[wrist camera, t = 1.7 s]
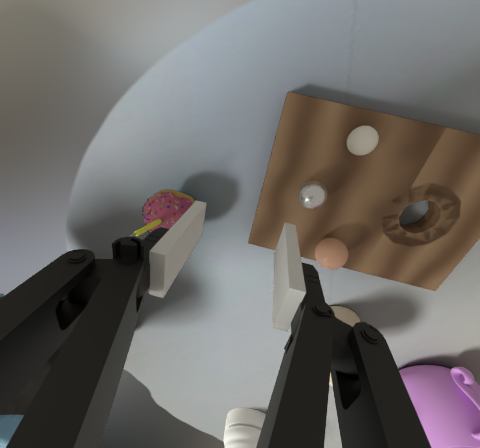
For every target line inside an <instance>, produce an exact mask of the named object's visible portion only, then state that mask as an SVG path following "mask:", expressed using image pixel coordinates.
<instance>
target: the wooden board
mask: <svg viewBox="0 0 480 448" xmlns="http://www.w3.org/2000/svg"><path fill="white" fill-rule="evenodd" d="M360 126H371V127H373V128H374V129H375V130H376V131H377V133H378V136H379V140H378V144H377V146H376V147H375V149H374V150H373V151H371V152H370V153H368V154H366V155H354V154H352V153H351V152H350V151H349V150H348V147H347V138H348V136H349V134H350V133H351V132H352V131H353V130H354V129H356V128H357V127H360ZM308 181H318V182H321V183H322V184H323V185H324V186H325V187H326V189H327V192H328V197H327V200H326V202H325V204H324V205H323V206H321V207H320V208H318V209H314V210H310V209H306V208H304V207H303V206H301V204H300V203H299V201H298V198H297V194H298V190H299V188H300V187H301V186H302V185H303V184H304V183H305V182H308ZM422 200H428V201H429V207H428V211H427V213H426V214H425V216H424V217H423V218H422V219H420V220H419V221H417V222H415V223H412V224H407V225H403V224H399V217H400V215H401V213H402V212H403V210H404V209H405V208H406V207H408V206H409V205H411V204H412V203H414V202H417V201H422ZM285 223H289V224H293V225H296V232H297V238H298V244H299V250H300V257H304V258H308V259H312V260H316V258H315V254H314V252H315V247H316V245H317V244H318V243H319V242H320V241H321V240H323V239H325V238H336V239H339V240H340V241H342V242H343V243H344V244H345V245H346V247H347V249H348V259H347V262H346V263H345V264H344V265H343V266H342V267H343V268H347V269H351V270H355V271H359V272H363V273H367V274H370V275H374V276H378V277H382V278H386V279H390V280H394V281H398V282H402V283H406V284H410V285H413V286H417V287H421V288H425V289H429V290H433V291H436V290H437V288H438V287H439V286H440V285H441V284H442V282H443V281H444V280H445V279H446V278H447V277H448V275H449V274H450V273H451V272H452V271H453V269H454V268H455V267H456V266H457V265H458V263H459V262H460V261H461V260H462V259H463V257H464V256H465V255H466V254H467V253H468V252H469V250H470V249H471V248H472V247H473V246H474V244H475V243H476V242H477V241H478V240H479V238H480V135H478V134H474V133H469V132H465V131H460V130H456V129H452V128H447V127H443V126H438V125H434V124H429V123H425V122H420V121H416V120H412V119H407V118H403V117H398V116H394V115H389V114H385V113H380V112H376V111H372V110H367V109H363V108H358V107H354V106H349V105H345V104H340V103H336V102H332V101H327V100H323V99H318V98H314V97H309V96H305V95H300V94H296V93H292V92H287V95H286V99H285V103H284V107H283V111H282V115H281V118H280V122H279V126H278V130H277V134H276V138H275V141H274V145H273V149H272V153H271V157H270V161H269V164H268V168H267V172H266V176H265V180H264V183H263V187H262V191H261V195H260V199H259V203H258V206H257V210H256V214H255V218H254V222H253V226H252V229H251V233H250V237H249V242H248V243H249V244H253V245H257V246H261V247H265V248H269V249H273V250H276V247H277V244H278V241H279V238H280V236H281V233H282V230H283V227H284V224H285ZM316 261H317V260H316Z"/></svg>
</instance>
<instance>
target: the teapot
mask: <svg viewBox="0 0 480 448" xmlns="http://www.w3.org/2000/svg"><path fill="white" fill-rule="evenodd" d="M399 372H400V375H401V377H402V379H403V382H404V384H405V386H406V389H407V391H408V394H409V396H410V398H411V401H412V403H413V405H414V408H415V410H416V412H417V415H418V417H419V419H420V422H421V424H422V426H423V429H424V431H425V433H426V436H427V438H428V440H429V443H430V445H431V447H432V448H480V385H479V384H478V383H477V382H476V381H475V380H474V376H473V374H472V373H471V372H470V371H469V370H468V369H466V368H464V367H460V366H459V367H453V368H452V369H450V368H447V367H442V366H436V365H417V366H411V367H407V368H404V369H401V370H399Z"/></svg>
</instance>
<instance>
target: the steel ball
mask: <svg viewBox="0 0 480 448" xmlns="http://www.w3.org/2000/svg"><path fill="white" fill-rule="evenodd" d="M327 197H328V192H327V189H326V187H325V186H324V185H323V184H322V183H321V182H318V181H308V182H305V183H304V184H303V185H302V186H301V187H300V188H299V190H298V194H297V198H298V201H299V203H300V204H301V206H303V207H304V208H306V209H310V210H314V209H318V208H320V207H321V206H323V205H324V204H325V202H326V200H327Z"/></svg>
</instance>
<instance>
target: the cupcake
mask: <svg viewBox="0 0 480 448" xmlns="http://www.w3.org/2000/svg"><path fill="white" fill-rule="evenodd" d="M194 202H195V199H194V198H193V197H191V196H189V195H187V194H184V193H182V192H179V191H175V190H162V191H159V192H157V193H155V194H154V195H152V196H151V197H150V198H149V199H147V201H146V203H145V204H144V206H143V207H144V208H143V207H142V209H143V210H142V212H143V214H142V216H143V218H144V222H145V226H144V227H142V228H140V229H138V230H136V231H134V234H132V235H129V236H130V237H131V236H134V235H135V236H139V235H141V234H143V233H144V232H146V231H148V232H149V234H150V233H151V232H152V231H153V230H155V229H157V228H160V227H163V228H167V229H170V228H171V227H172V226H173V225H174V224H175V223H176V222H177V221H178V220H179V219H180V218H181V217H182V215H183V214H184V213H185V212H186V211H187V210H188V209H189V208H190V207H191V206H192V205H193V204H194Z"/></svg>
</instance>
